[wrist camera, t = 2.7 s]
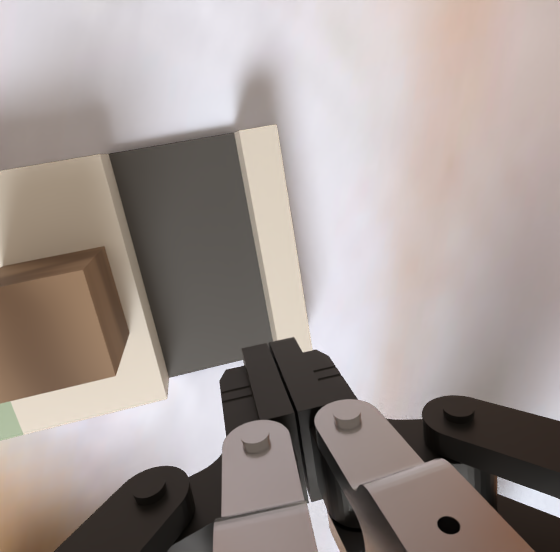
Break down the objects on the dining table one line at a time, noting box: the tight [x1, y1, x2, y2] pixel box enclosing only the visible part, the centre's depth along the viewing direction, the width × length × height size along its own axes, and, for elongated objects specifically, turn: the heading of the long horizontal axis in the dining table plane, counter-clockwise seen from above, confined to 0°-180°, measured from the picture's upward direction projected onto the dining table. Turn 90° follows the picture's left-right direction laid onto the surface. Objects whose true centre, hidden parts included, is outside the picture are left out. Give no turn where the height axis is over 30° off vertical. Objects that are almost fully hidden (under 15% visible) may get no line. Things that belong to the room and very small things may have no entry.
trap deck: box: [0, 124, 312, 441], centre depth 24 cm, size 33×14×3 cm, turn 100°
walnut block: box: [0, 246, 130, 404], centre depth 21 cm, size 5×5×5 cm
